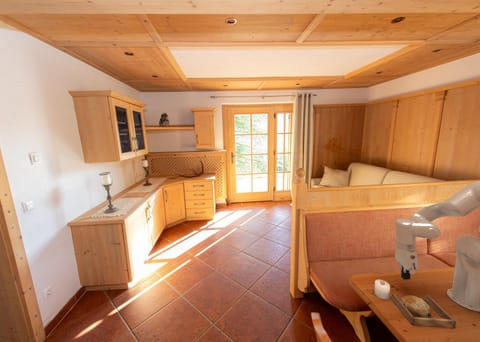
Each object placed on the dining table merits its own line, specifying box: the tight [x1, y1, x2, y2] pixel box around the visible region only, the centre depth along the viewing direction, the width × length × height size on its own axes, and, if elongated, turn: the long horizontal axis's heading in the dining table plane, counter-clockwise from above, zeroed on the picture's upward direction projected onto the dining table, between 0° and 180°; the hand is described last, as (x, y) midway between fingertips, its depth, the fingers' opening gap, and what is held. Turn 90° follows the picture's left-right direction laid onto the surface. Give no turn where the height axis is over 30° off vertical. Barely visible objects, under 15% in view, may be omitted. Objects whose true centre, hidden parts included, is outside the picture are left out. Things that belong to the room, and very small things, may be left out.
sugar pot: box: [374, 279, 391, 301], centre depth 96 cm, size 6×6×8 cm
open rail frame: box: [390, 292, 457, 329], centre depth 86 cm, size 16×14×3 cm
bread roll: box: [400, 295, 432, 318], centre depth 87 cm, size 10×10×8 cm
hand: (405, 278), depth 98 cm, fingers closed
